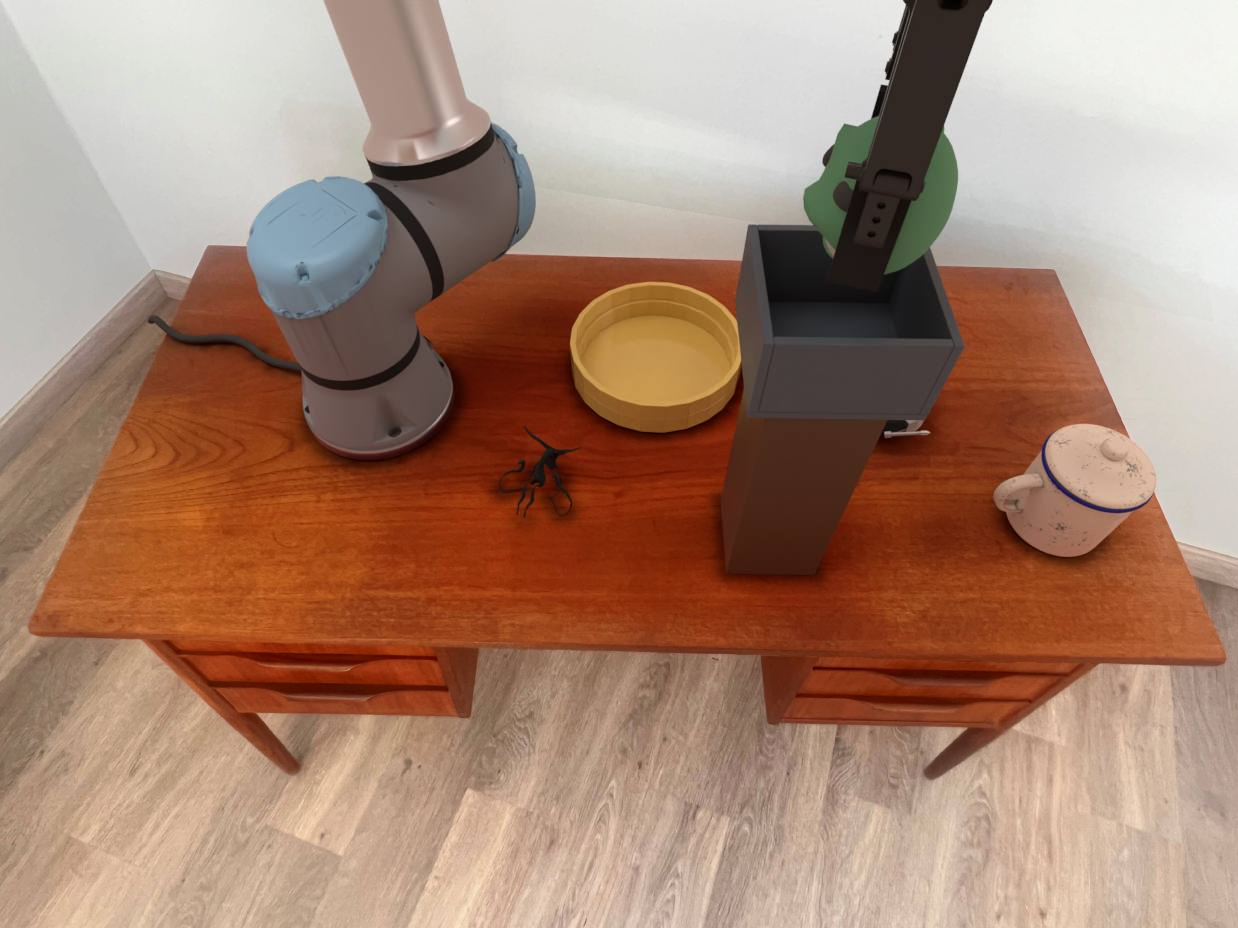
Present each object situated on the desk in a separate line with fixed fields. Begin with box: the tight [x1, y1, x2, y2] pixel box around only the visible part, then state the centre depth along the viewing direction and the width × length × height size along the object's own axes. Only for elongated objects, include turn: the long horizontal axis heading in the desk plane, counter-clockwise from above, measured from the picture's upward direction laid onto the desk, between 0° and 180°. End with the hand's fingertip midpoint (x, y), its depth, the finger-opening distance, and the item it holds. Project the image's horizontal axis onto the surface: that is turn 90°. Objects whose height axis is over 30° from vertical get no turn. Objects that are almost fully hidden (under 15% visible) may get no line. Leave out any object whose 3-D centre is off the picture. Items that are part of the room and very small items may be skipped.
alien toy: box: [802, 116, 959, 275], centre depth 39 cm, size 7×8×10 cm
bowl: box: [569, 281, 742, 434], centre depth 80 cm, size 18×18×4 cm
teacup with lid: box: [992, 423, 1157, 558], centre depth 66 cm, size 12×9×12 cm
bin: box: [720, 223, 966, 576], centre depth 57 cm, size 11×11×31 cm
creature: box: [498, 425, 582, 519], centre depth 70 cm, size 8×5×8 cm
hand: (862, 238), depth 42 cm, fingers closed on alien toy, 7 cm apart
